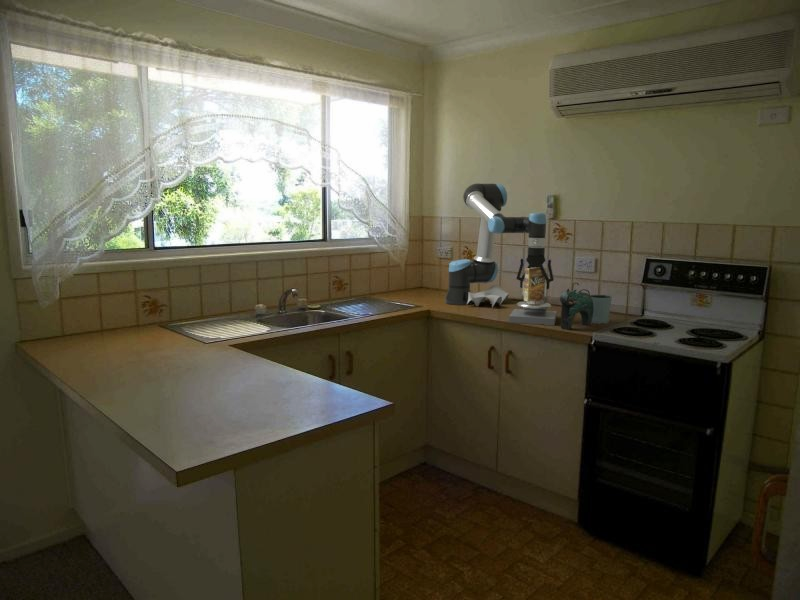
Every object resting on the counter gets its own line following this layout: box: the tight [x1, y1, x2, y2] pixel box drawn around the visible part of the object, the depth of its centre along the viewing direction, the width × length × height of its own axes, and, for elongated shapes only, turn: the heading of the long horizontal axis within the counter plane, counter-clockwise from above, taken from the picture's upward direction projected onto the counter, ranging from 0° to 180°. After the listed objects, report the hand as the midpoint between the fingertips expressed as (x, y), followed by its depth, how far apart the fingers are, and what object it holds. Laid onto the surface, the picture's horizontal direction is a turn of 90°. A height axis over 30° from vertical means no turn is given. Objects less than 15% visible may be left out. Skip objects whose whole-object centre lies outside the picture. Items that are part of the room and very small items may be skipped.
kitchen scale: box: [508, 292, 558, 326], centre depth 270 cm, size 20×20×13 cm
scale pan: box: [516, 300, 552, 310], centre depth 270 cm, size 15×15×2 cm
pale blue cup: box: [590, 294, 613, 324], centre depth 267 cm, size 10×10×12 cm
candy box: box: [523, 267, 547, 302], centre depth 268 cm, size 9×4×15 cm, turn 107°
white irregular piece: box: [467, 284, 510, 309], centre depth 313 cm, size 25×19×10 cm
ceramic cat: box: [559, 282, 593, 331], centre depth 254 cm, size 20×6×20 cm, turn 126°
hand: (534, 295), depth 269 cm, fingers closed on candy box, 9 cm apart
